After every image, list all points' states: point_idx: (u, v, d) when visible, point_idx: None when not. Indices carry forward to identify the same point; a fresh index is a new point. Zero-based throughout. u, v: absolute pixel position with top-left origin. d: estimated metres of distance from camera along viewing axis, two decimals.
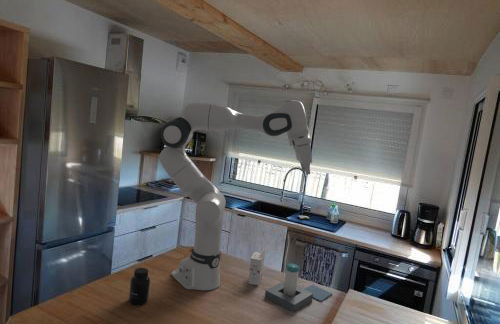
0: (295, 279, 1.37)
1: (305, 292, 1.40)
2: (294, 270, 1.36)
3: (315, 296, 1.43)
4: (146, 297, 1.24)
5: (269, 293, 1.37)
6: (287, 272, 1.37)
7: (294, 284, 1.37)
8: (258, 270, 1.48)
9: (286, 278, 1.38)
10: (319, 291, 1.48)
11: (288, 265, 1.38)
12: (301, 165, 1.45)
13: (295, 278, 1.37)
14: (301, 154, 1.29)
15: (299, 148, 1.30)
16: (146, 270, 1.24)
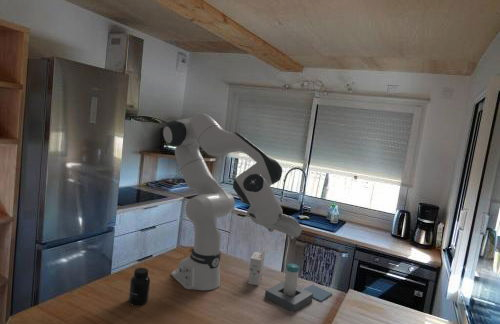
0: (295, 279, 1.37)
1: (305, 292, 1.40)
2: (294, 270, 1.36)
3: (315, 296, 1.43)
4: (146, 297, 1.24)
5: (269, 293, 1.37)
6: (287, 272, 1.37)
7: (294, 284, 1.37)
8: (258, 270, 1.48)
9: (286, 278, 1.38)
10: (319, 291, 1.48)
11: (288, 265, 1.38)
12: None
13: (295, 278, 1.37)
14: None
15: None
16: (146, 270, 1.24)
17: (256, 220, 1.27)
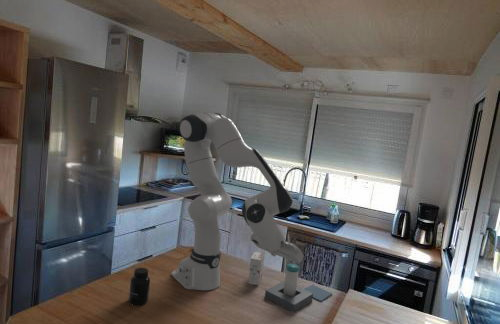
0: (295, 279, 1.37)
1: (305, 292, 1.40)
2: (294, 270, 1.36)
3: (315, 296, 1.43)
4: (146, 297, 1.24)
5: (269, 293, 1.37)
6: (287, 272, 1.37)
7: (294, 284, 1.37)
8: (258, 270, 1.48)
9: (286, 278, 1.38)
10: (319, 291, 1.48)
11: (288, 265, 1.39)
12: None
13: (295, 278, 1.37)
14: None
15: None
16: (146, 270, 1.24)
17: (259, 245, 1.31)
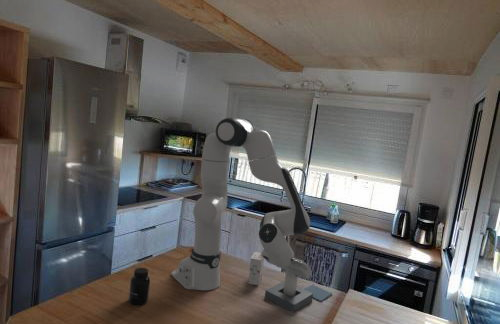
0: (295, 279, 1.37)
1: (305, 292, 1.40)
2: None
3: (315, 296, 1.43)
4: (146, 297, 1.24)
5: (269, 293, 1.37)
6: (287, 272, 1.37)
7: (294, 284, 1.37)
8: (258, 270, 1.48)
9: (286, 278, 1.38)
10: (319, 291, 1.48)
11: None
12: None
13: (295, 278, 1.37)
14: None
15: None
16: (146, 270, 1.24)
17: (269, 260, 1.38)
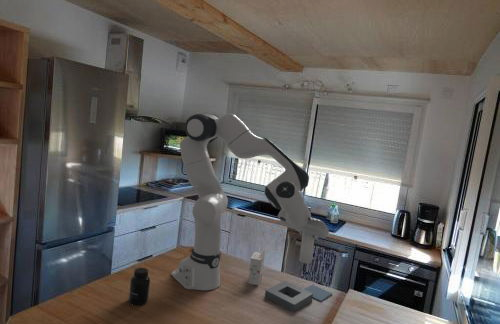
0: (312, 241, 1.37)
1: (305, 292, 1.40)
2: None
3: (315, 296, 1.43)
4: (146, 297, 1.24)
5: (269, 293, 1.37)
6: (304, 234, 1.38)
7: (311, 245, 1.37)
8: (258, 270, 1.48)
9: (303, 240, 1.38)
10: (319, 291, 1.48)
11: None
12: None
13: (312, 240, 1.37)
14: None
15: None
16: (146, 270, 1.24)
17: (286, 223, 1.39)
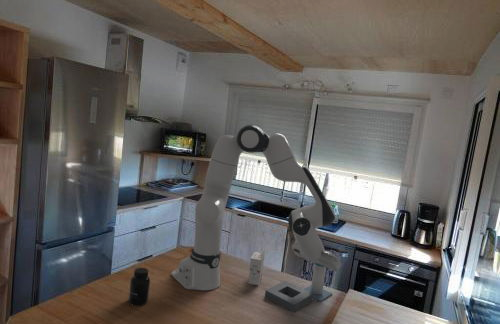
0: (323, 273, 1.44)
1: (305, 292, 1.40)
2: None
3: (315, 296, 1.43)
4: (146, 297, 1.24)
5: (269, 293, 1.37)
6: (315, 266, 1.45)
7: (322, 277, 1.44)
8: (258, 270, 1.48)
9: (314, 272, 1.45)
10: None
11: None
12: None
13: (323, 272, 1.44)
14: None
15: None
16: (146, 270, 1.24)
17: (299, 253, 1.46)
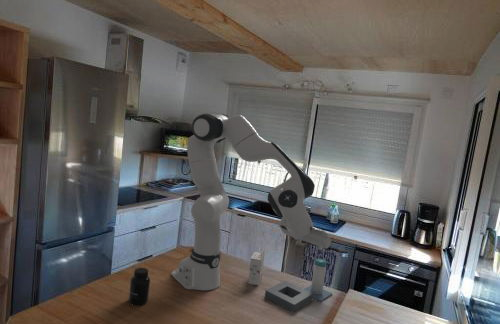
0: (323, 273, 1.44)
1: (305, 292, 1.40)
2: (322, 265, 1.43)
3: (315, 296, 1.43)
4: (146, 297, 1.24)
5: (269, 293, 1.37)
6: (315, 267, 1.45)
7: (322, 278, 1.44)
8: (258, 270, 1.48)
9: (314, 272, 1.45)
10: None
11: (316, 260, 1.46)
12: None
13: (323, 272, 1.44)
14: None
15: None
16: (146, 270, 1.24)
17: (286, 231, 1.35)
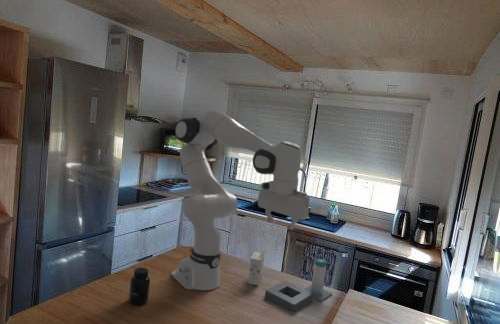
0: (323, 273, 1.44)
1: (305, 292, 1.40)
2: (322, 265, 1.43)
3: (315, 296, 1.43)
4: (146, 297, 1.24)
5: (269, 293, 1.37)
6: (315, 267, 1.45)
7: (322, 278, 1.44)
8: (258, 270, 1.48)
9: (314, 272, 1.45)
10: None
11: (316, 260, 1.46)
12: None
13: (323, 272, 1.44)
14: None
15: None
16: (146, 270, 1.24)
17: (263, 200, 1.25)
